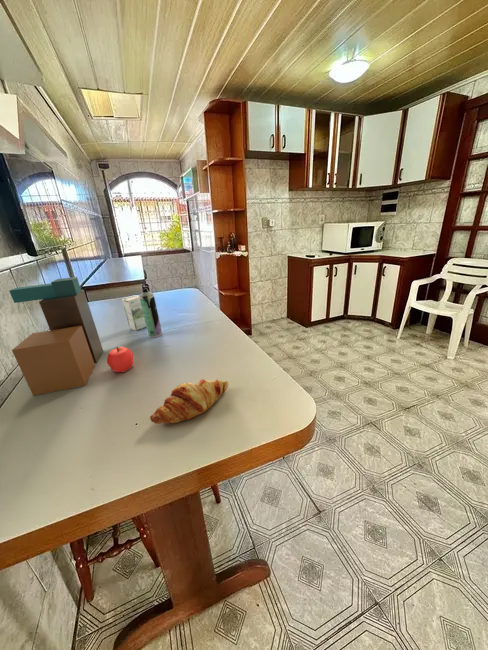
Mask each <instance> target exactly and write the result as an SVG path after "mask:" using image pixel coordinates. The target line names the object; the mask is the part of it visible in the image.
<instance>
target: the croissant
mask: <svg viewBox="0 0 488 650" xmlns="http://www.w3.org/2000/svg"><path fill="white" fill-rule="evenodd" d="M228 387H229V381H227V380H225V381H223V380H220V379H215V380H207V379H204V378H202V379H200V380H199V382H198V383H193V382H185V383H181V384H179V385H177V386H176V387H175V388H174V389H173V390H171V394H170V396H169V397H166V399H165V400H164V402H163V405H160V406H159V407H158V408H156V410H155V412H153V414H151V415H150V416H149V419H150V421H151V422H152V423H154V424H166V423H167V424H176V423H180V422H182V421H188V420H191V419H193V418H195V417H197V416H199V415H201V414H203V413H205V412H206V411H208V410H209V409H211V408H212V406H213V404H214V403H216V402H217V401H218V400H219V399H220V397H221V396H222V395H223V394H224V393H225V392H226V391H227V390H228Z"/></svg>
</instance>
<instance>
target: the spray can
mask: <svg viewBox="0 0 488 650" xmlns="http://www.w3.org/2000/svg"><path fill="white" fill-rule="evenodd" d="M138 296H139V297H140V302H141V306H142V310H143V314H144V318H145V323H146V327H145V328H146V331H147V334H148V337H149V338H154V339H155V338H159V337H161V336H162V335H163V331H162V327H161V321H160V316H159V312H158V308H157V303H156V299H155V295H154V293H153V292H151V291H150V290H149V289H148V288H147V287H144V288H142V291H141V293H140V294H139V295H138Z"/></svg>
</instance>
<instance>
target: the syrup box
mask: <svg viewBox="0 0 488 650" xmlns="http://www.w3.org/2000/svg"><path fill="white" fill-rule="evenodd" d="M121 300H122V304H123V308H124V312H125V317H126V320H127V324H128V328H129V329H130V330H131V331H136V332H137V331H139V330H142V329H145V328H147V327H146V323H145V318H144V314H143V310H142V306H141V302H140V296H139V295H135V294H134V295H130V296H127V297H123V298H121Z"/></svg>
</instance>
